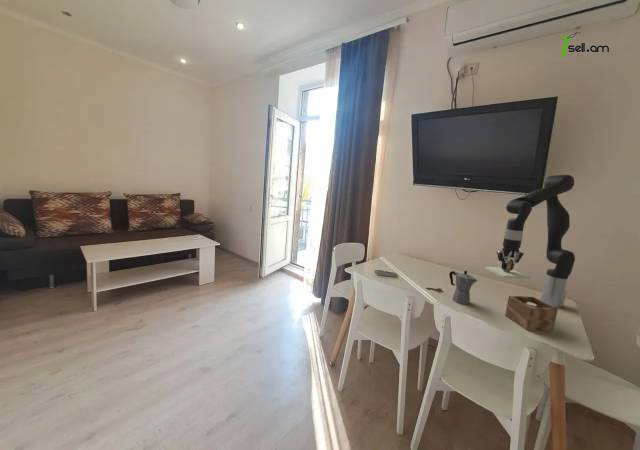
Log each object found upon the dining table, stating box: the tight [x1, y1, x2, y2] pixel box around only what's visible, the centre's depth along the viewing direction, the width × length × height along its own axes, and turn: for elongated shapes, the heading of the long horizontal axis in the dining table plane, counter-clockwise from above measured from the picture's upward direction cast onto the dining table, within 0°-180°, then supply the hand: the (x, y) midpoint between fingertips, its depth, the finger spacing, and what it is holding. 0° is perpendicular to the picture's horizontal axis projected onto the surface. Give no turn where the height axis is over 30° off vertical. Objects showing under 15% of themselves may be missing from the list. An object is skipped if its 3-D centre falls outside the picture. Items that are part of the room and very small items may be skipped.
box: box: [504, 295, 559, 332], centre depth 124 cm, size 13×13×11 cm
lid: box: [484, 259, 531, 280], centre depth 137 cm, size 14×14×7 cm
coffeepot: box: [448, 270, 478, 306], centre depth 145 cm, size 15×9×18 cm, turn 33°
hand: (506, 269), depth 137 cm, fingers closed on lid, 3 cm apart
